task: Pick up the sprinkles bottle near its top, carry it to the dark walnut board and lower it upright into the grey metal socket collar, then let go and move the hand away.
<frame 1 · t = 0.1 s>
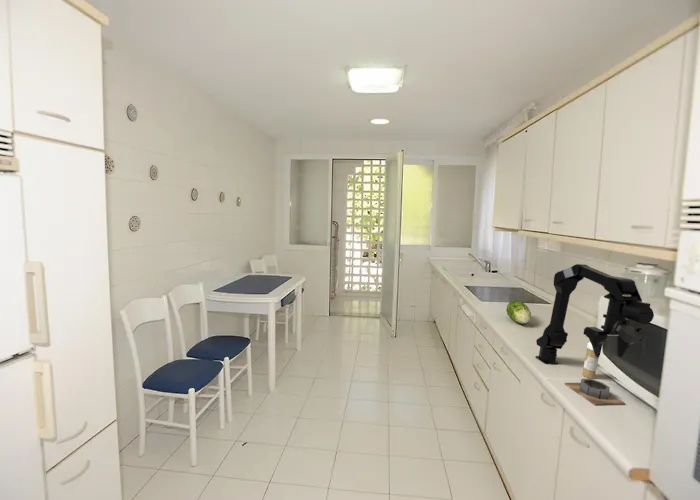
hand: (608, 357, 130), 15 cm above the worktop, tool pointing down, fingers open, 9 cm apart
socket board: (593, 394, 133), on the worktop
socket collar: (594, 388, 133), on the socket board, point 2 cm above the worktop
lettuce: (518, 322, 211), on the worktop
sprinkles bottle: (588, 376, 148), on the worktop
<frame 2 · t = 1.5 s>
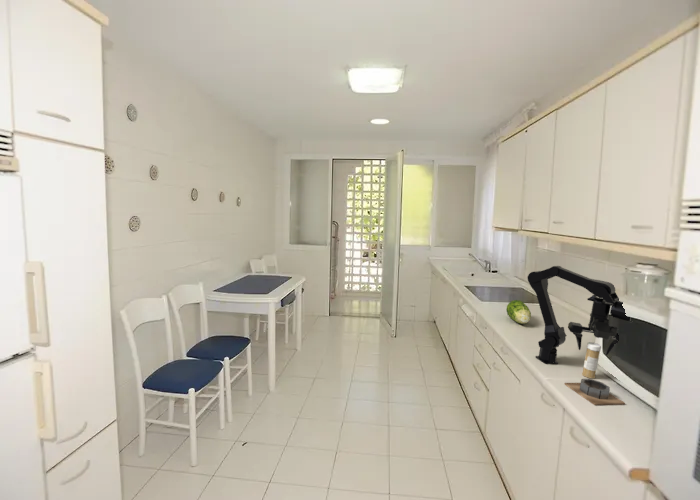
hand: (592, 352, 146), 10 cm above the worktop, tool pointing down, fingers open, 9 cm apart
nothing on the worktop moved.
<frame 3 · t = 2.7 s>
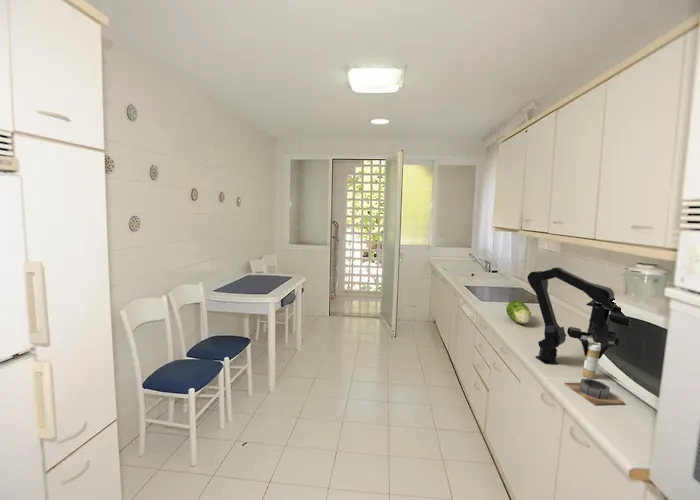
hand: (592, 357, 147), 8 cm above the worktop, tool pointing down, fingers closed on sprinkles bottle, 4 cm apart
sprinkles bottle: (588, 376, 148), on the worktop, touching gripper
everything else where it was.
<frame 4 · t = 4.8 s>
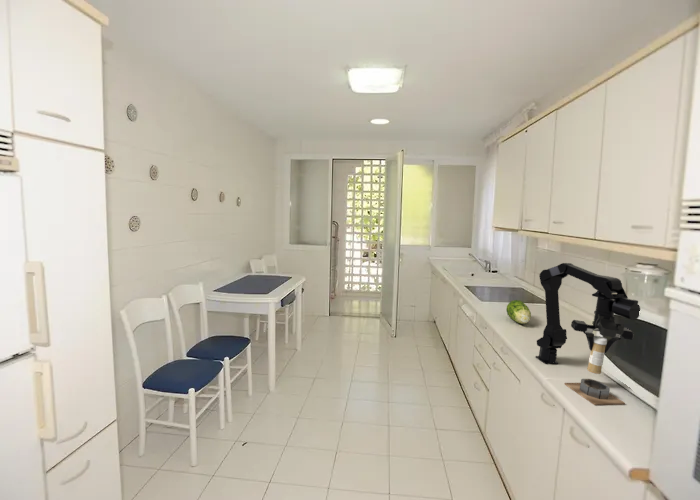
hand: (597, 351, 139), 13 cm above the worktop, tool pointing down, fingers closed on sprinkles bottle, 4 cm apart
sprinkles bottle: (593, 372, 140), point 5 cm above the worktop, touching gripper
everything else where it was.
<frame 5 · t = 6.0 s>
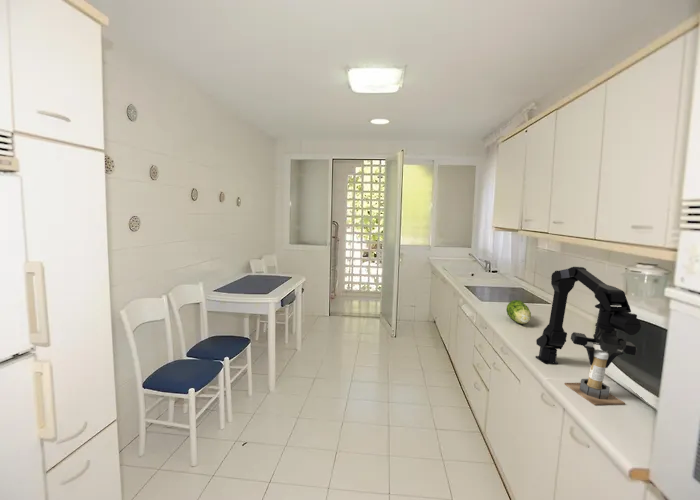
hand: (598, 366, 132), 11 cm above the worktop, tool pointing down, fingers closed on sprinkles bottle, 4 cm apart
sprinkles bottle: (594, 387, 133), point 2 cm above the worktop, touching gripper
everything else where it was.
when the fingers open (10 cm above the worktop, at t = 6.9 s): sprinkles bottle drops 1 cm, resting on socket board.
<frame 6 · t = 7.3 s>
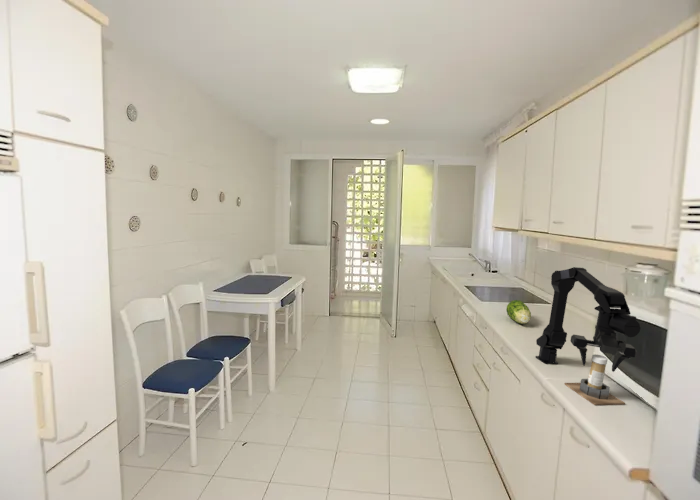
hand: (598, 368, 132), 10 cm above the worktop, tool pointing down, fingers open, 9 cm apart
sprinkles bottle: (593, 392, 133), resting on socket board
everything else where it was.
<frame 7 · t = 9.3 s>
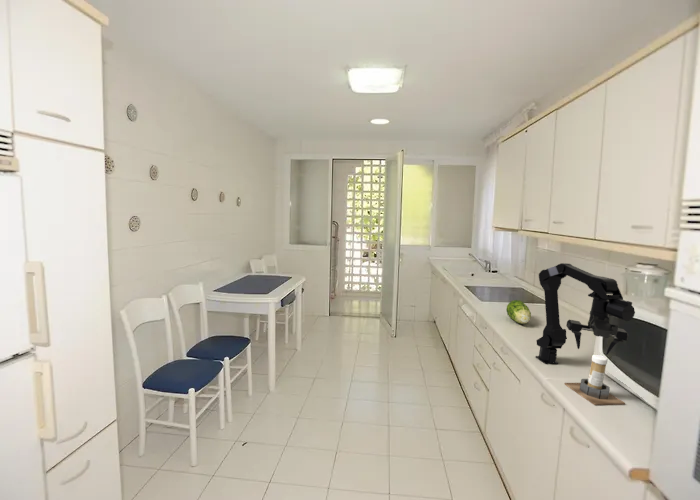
hand: (592, 351, 140), 13 cm above the worktop, tool pointing down, fingers open, 9 cm apart
nothing on the worktop moved.
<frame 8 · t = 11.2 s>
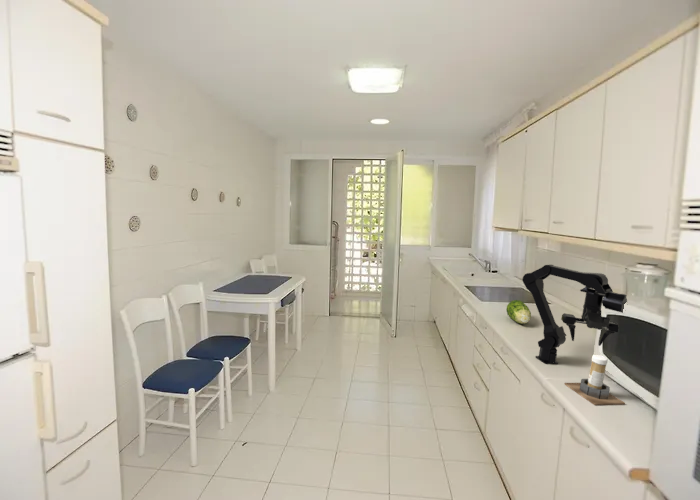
hand: (585, 343, 147), 13 cm above the worktop, tool pointing down, fingers open, 9 cm apart
nothing on the worktop moved.
at the end: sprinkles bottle 0.1 cm off-centre on the socket board, point 0.4 cm above the socket board's base; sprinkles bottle tilted 0°; the gripper is holding nothing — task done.
